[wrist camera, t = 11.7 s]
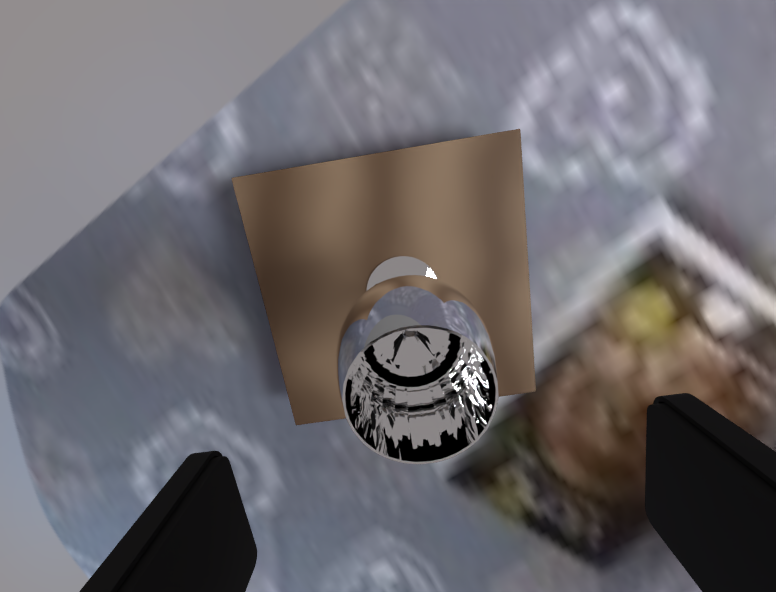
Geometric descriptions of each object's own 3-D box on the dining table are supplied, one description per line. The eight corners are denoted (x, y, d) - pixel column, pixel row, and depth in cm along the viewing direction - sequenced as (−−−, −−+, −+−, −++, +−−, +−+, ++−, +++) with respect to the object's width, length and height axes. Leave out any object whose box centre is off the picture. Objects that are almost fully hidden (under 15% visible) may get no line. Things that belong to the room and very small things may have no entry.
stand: (496, 139, 25) (520, 128, 20) (513, 361, 29) (535, 391, 25) (258, 180, 25) (231, 178, 21) (309, 390, 30) (295, 425, 25)
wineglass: (470, 295, 23) (557, 403, 11) (399, 354, 24) (411, 509, 12) (407, 223, 22) (430, 262, 10) (335, 289, 23) (282, 393, 11)
